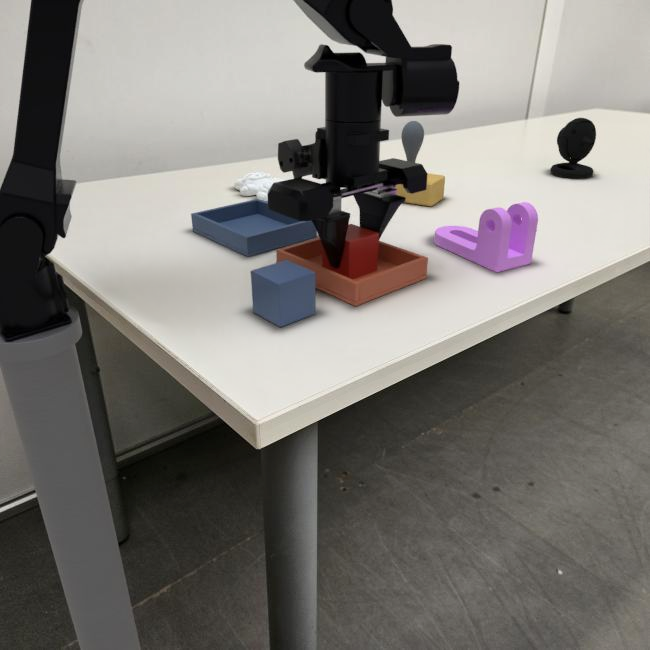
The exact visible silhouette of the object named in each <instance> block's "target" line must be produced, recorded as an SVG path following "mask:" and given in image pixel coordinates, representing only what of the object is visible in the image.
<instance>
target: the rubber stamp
mask: <svg viewBox="0 0 650 650" xmlns="http://www.w3.org/2000/svg"><path fill="white" fill-rule="evenodd" d="M424 139H425V129H424V126H423V125H422V124H421V123H420V122H419V121H417V120H410V121H408V122H407V123H406V124H404V126H403V128H402V130H401V143H402V147H403V150H404V155H405V158H406V161H409V162H414V163H416V160H417V158H418V154H419V152H420V150H421V148H422V146H423V143H424ZM445 184H446V176H445V175H443V174H435V173H429V172H427V188H426V190H424V191H420V192H417V193H413V194H410V193H407V192H406V190H405V189H404V188H403V185H402V184H398V185H396V189H397V195H399V196H403V197H405V198H406V200H405V202H404V203H403V204H411V205H418V206H424V207H432V206H434V205H436V204H437V203H439V202H440V201H441V200H443V199H444V196H445Z"/></svg>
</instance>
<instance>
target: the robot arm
mask: <svg viewBox="0 0 650 650" xmlns="http://www.w3.org/2000/svg"><path fill="white" fill-rule="evenodd" d="M84 1H85V0H30V7H29V9H30V10H29V16H28V25H27V32H26V33H27V34H26V42H25V50H24V59H23V67H22V76H21V85H20V93H19V101H18V108H17V109H18V111H17V116H16V117H17V119H16V126H15V134H14V143H13V151H12V157H11V160H10V162H9V165H8V168H7V170H6V173H5V175H4V178H3V180H2V183H1V185H0V336H1V338H2V339H3V340H4V341H5V342H12V341H16V340H19V339H22V338H26V337H29V336H32V335H35V334H39V333H42V332H45V331H49V330H52V329H55V328H59V327H62V326H65V325H68V324H71V323H72V318H71V317H70V316H69V315H67V314H66V312H68V311H69V300H68V295H67V291H66V287H65V281H64V277H63V275H62V274H61V273H60V272H58V271H57V270H56V267H55V263H54V262H53V261H52V260H51V259H50V258H48V257H47V256H48V255H50V254H51V253H52V252H53V250H54V249H55V248H56V244H57V241H58V238H59V237H60V238H61V239H65V238H66V237H67V234H68V230H69V227H70V225H71V224H70V223H71V221H72V218H73V216H72V213H71V201H72V197H73V194H74V192H75V188H76V185H77V180H75V179H63V176H62V174H63V173H62V168H61V167H62V166H61V151H62V145H63V139H64V131H65V125H66V117H67V110H68V104H69V97H70V90H71V83H72V77H73V69H74V63H75V56H76V50H77V49H76V48H77V43H78V34H79V28H80V21H81V16H82V15H81V14H82V7H83V4H84ZM292 1H293V2H294V3H295V4H296V6H297V7H298V8H299V9H300V11H302V13H304V15H305V16H306V18H308V19H309V20H310V21H311V22H312V23H313V24H314V25H315V26H316V27H317V28H318V29H319V30H320V31H321V32H322V33H323V34H325V36H327V38H329V39H330V40H331V41H333V42H336V43H338V44H341V45H347V46H355V47H357V48H359V50H361V51H362V52H363V53H365V54H369V55H374V56H380V57H385V62H367V60H366V58H365V56H364V54H363V53H361V52H359V51H357V52H356V51H355V52H334V51H333V50H332V49H331V47H330V46H329V45H328V44H322V43H321V44H319V45H318V47H317V50H316V51H315V52H314V54H312V55H311V57H310V58H309V59H307V60H306V61H305V62H304V64H303V67H304V69H305V71H306V70H307V71H310V72H312V73H318V74H319V73H324V86H325V87H324V103H325V104H324V126H321V127H317V128H316V131H315V137H314V138H315V140H314V142H313V143H311V144H305V145H302V143H301V141H300V140H299V139H298V138H293V139H289V140H283V141H281V142H278V143H277V162H278V165H279V170H280V171H281V172H282V173H284V174H285V173H289V172H292V176H293V178H291V179H285V181H280V182H276V183H273V184H272V186H271V187H270V189H269V190H268V201H267V202H268V210H270V211H273V212H276V213H278V214H281V215H284V216H287V217H290V218H292V219H295V220H298V221H312V223H313V225H314V227H315V229H316V230H317V236H318V238H320V240H321V243H322V245H323V248H324V251H325V253H326V256H327V259H328V261H329V264H330V266H331V267H333V268H339V265H340V262H341V259H342V255H343V249H344V244H345V239H346V234H347V229H348V225H349V224H350V219H351V212H347V211H345V210H342V199H345V198H349V197H352V196H353V198H354V201H355V202H356V204H357V207H358V209H359V227H362V228H365V229H368V230H371V231H374V232H377V233H379V240H380V239H381V238H382V236H383V234H384V232H385V230H386V229H387V226H388V225H389V223H390V222H391V220H392V219H393V217H394V216H395V214H396V213H397V211H398V209H399V208H400V206H401V205H402V204H405V203H404V202H405V200H406V198H405V197H403V196H399V195H397V189H396V185H398V184H402V185H403V188H404V189H405V190H406V192H407V193H410V194H413V193H417V192H420V191H424V190H426V188H427V173H428V172H427V170H426V168H425V167H424V165H423V164H422V163H418V162H415V163H414V162H409V161H407V160H404V159H399V158H395V157H391V158H387V159H382V160H380V158H381V157H380V156H381V155H380V154H381V153H380V152H381V142H386V141H390V139H389V138H390V129H387V128H382V105H384V106H385V107H386V108H388V107H389V109H390V112H391V113H392V115H393V116H394V117H396V118H397V117H401V118H403V117H419V116H421V117H422V116H441V115H443V116H444V115H446V116H447V115H449V114H450V113H452V111H453V110H454V109H455V106H456V104H457V102H458V98H459V93H460V80H458V72H457V66H456V64H455V61H454V60H453V58H452V52H453V46H452V45H451V44H444V43H433V44H429V45H424V46H411V44H410V43H409V40H408V38H407V37H406V35H405V34H404V32H403V30H402V28H401V26H400V25H399V24H398V21H397V19H396V18H395V16H394V15H393V14H394V6H393V5H394V4H393V1H392V0H292ZM307 176H311V177H312V178H313V179H316V180H325V182H321V183H320V182H316V181H312V180H310V179H306V178H304V177H307Z"/></svg>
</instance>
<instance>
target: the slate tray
mask: <svg viewBox="0 0 650 650" xmlns="http://www.w3.org/2000/svg"><path fill="white" fill-rule="evenodd" d="M190 218H191V227H192V232H193V233H196V234H198V235H200V236H202V237H205V238H207V239H209V240H211V241H213V242H216V243H218V244H220V245H221V246H224V247H226V248H228V249H230V250H232V251H235V252H237V253H239V254H242V255H244V256H246V257H252V256H255V255H259V254H262V253H265V252H269V251H273V250H277V249H281V248H284V247H288V246H291V245H295V244H298V243H302V242H305V241H309V240H312V239H316V238H318V233H317V230H316V229H315V227H314V225H313V223H312V221H298V220H295V219H292V218H290V217H287V216H284V215H281V214H278V213H276V212H273V211H270V210H268V201H263V200H260V199H257V198H255V199H251V200H246V201H242V202H238V203H237V202H236V203H232V204H228V205H223V206H219V207H215V208H210V209H205V210H200V211H197V212H192V213H190Z"/></svg>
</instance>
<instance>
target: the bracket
mask: <svg viewBox="0 0 650 650" xmlns="http://www.w3.org/2000/svg"><path fill="white" fill-rule="evenodd" d="M538 222H539V215H538V211H537V209H536V208H535V206H534V205H533V204H531V203H530V202H527V201H523V202H519V203H513V204H511V205H510V206H509V207H508V208H507V210H506V209H505V208H503V207H499V206H498V207H492V208H487V209H485V210H484V211H483V212H482V213H481V214H480V217H479V219H478V228H477V229H478V230H476V229H474V228H472V227H468V226H463V225H443V226H439V227H437V228H436V229H435V230H434V239H433V240H434V241H433V242H434V244H435V245H436V246H438V247H440V248H441V249H444V250H446V251H448V252H450V253H453V254H455V255H458V256H459V257H462V258H464V259H466V260H468V261H470V262H472V263H474V264H477V265H479V266H482V267H484V268H486V269H488V270H490V271H492V272H495V273H500V272H504V271H508V270H512V269H516V268H520V267H523V266H526V265H531V264H532V260H533V253H534V248H535V242H536V235H537V229H538Z"/></svg>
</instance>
